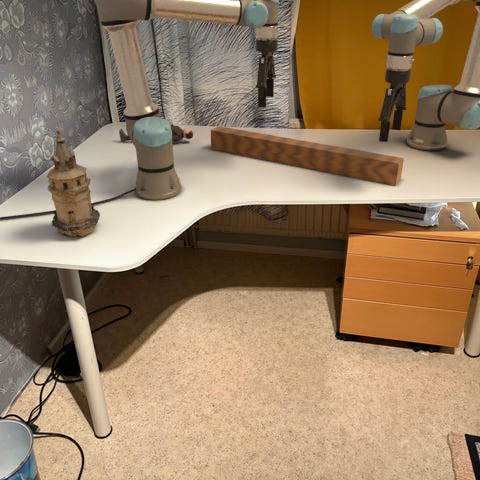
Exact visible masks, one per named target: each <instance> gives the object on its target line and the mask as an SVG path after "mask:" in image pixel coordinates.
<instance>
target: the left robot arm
mask: <svg viewBox="0 0 480 480" xmlns="http://www.w3.org/2000/svg"><path fill="white" fill-rule="evenodd" d="M93 2H94V5H95V6H96V9H97V12H98V16H99V20H100V24H101V27H102V28H104V29H105V30H106V31H107V33H108V36H109V40H110V44H111V48H112V53H113V56H114V61H115V64H116V68H117V73H118V76H119V81H120V84H121V89H122V93H123V97H124V101H125V105H126V106H125V109H124V110H123V115H124V119H125V129H126V135H127V136H129V138H130V139H131V140H130V141H131V142H132V144H133V146H134V148H135V154H136V161H137V175H136V179H135V184H134V188H133V189H130V190H128V191H125V192H124V193H121V194H119V195H117V196H112V197H110V198H107V199H103V200H99V201H95V202H91V205H93V204H94V206H95V205H99V204H104V203H107V202H110V201H113V200H116V199H120V198H123V197H124V196H126V195H128V194H131V193H135V195H136V196H137V197H138V198H141V199H143V200H148V201H161V200H168V199H171V198H174V197H176V196H178V195H179V194H180V193H181V192H182V181H181V180H182V179H181V178H180V177H179V176H178V173H177V171H176V169H175V161H174V160H175V159H174V158H175V157H174V146H173V145H174V144H173V143H172V130H171V126H170V124H171V123H170V122H169V120H167V119H165V118H163V117H161V112H160V109H159V108H160V107H159V105H158V104H157V103H155V102H153V98H152V92H151V88H150V83H149V79H148V75H147V70H146V66H145V62H144V61H145V60H144V56H143V53H142V52H143V51H142V47H141V43H140V39H139V34H138V29H137V25H138V23H139V22H140V21H148V22H149V21H151V20H152V19H153V18H156V19H168V20H177V21H187V22H198V23H199V22H200V23H207V24H221V25H231V26H239V27H247V28H248V27H249V28H250V29H255V31H254V32H255V33H254V34H255V35H254V36H255V38H256V39H255V51H256V52H258V53H261V56H259V57H258V69H257V80H256V85H255V89H257V107H259V108H266V107H267V98H274V96H275V94H274V93H275V92H274V91H275V79H277V74H276V67H275V57H274V56H275V55H274V53H276V52H277V51H278V49H279V48H278V47H279V46H278V45H279V39H277V38H278V37H279V32H280V31H281V29H280V28H279V4H280V0H93ZM55 211H56V209H54V210H47V211H39V212H31V213H24V214H15V215H7V216H0V220H9V219H16V218H25V217H26V218H27V217H33V216H34V217H35V216H42V215H48V214H55V213H54V212H55Z"/></svg>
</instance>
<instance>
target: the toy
mask: <svg viewBox="0 0 480 480" xmlns="http://www.w3.org/2000/svg"><path fill="white" fill-rule="evenodd" d="M170 126H171V130H172V144H179V143H181V142H182V141H183V140H184V139H186V140H191V139H193V137H194V131H193V130H192V129H190V128H185V129H182V127H180V126H179V125H174V123H170ZM118 132H119V133H118V134H119V140H120V142H121V143H124V142H126V141H127V142H128V141H132V140H131V139H130V138H129V136H128V134H127V133H126V132H125V131H124V130H123V129H122V128H120V129H119V131H118Z"/></svg>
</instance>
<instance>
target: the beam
mask: <svg viewBox="0 0 480 480" xmlns="http://www.w3.org/2000/svg"><path fill="white" fill-rule="evenodd" d="M210 149H211V150H212V151H217V152H223V153H229V154H233V155H238V156H243V157H248V158H253V159H259V160H263V161H268V162H269V161H270V162H273V163H278V164H283V165H290V166H295V167H299V168H305V169H310V170H315V171H319V172H325V173H330V174H334V175H341V176H344V177H345V176H346V177H349V178H356V179H361V180H364V181H365V180H366V181H370V182H375V183H380V184H385V185H390V186H391V185H392V186H397V185H398V184H399V182H400V181H401V180H402V174H403V167H404V160H405V158H404V157H400V156H395V155H389V154H383V153H377V152H372V151H365V150H360V149H354V148H347V147H342V146H336V145H331V144H324V143H319V142H314V141H307V140H301V139H295V138H290V137H285V136H284V137H283V136H278V135H273V134H267V133H260V132H256V131H255V132H254V131H249V130H244V129H238V128H233V127H226V126H220V125H218V126H216V127H214V128H212V129H210Z"/></svg>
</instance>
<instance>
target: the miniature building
mask: <svg viewBox="0 0 480 480" xmlns="http://www.w3.org/2000/svg"><path fill="white" fill-rule="evenodd" d="M56 134H57V136H56V138H55V140H54V141H55V142H56V147H55V154H54V156H52V157H51V161H52V162H53V165H54V167H53V168H51V169H50V170H49V171H48V173H47V174H46V178H47V179H48V182H49V184H48V186H47V190H48V191H49V193H50V194H51V200H52V201H53V205H54V210H56V211H55V212H54V213H53V217H52V220H51V223H52V225H51V227H54V228H56V229H58V230H59V231H60V234H63V235H64V234H65V235H66V236H69V237H77V236H80V237H83V236H87V235H88V234H90V233H93V232H94V231H95V229H96V226H97V225H98V223H99V220H100V216H101V213H100V212H99V210H98V209H96V208H95V205H94V204H93V205H91V203H92V201H91V200H92V199H91V198H92V197H91V192H92V191H91V188H90V184H91V178H89V177H88V174H87V167H85V166H84V165H83V166H82V165H80V164H77V160H76V154H75V151H74V150H70V149H69V147H68V145H67V143H66V138H65V137H64V136H63V135H61V130H60V129H56Z"/></svg>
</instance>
